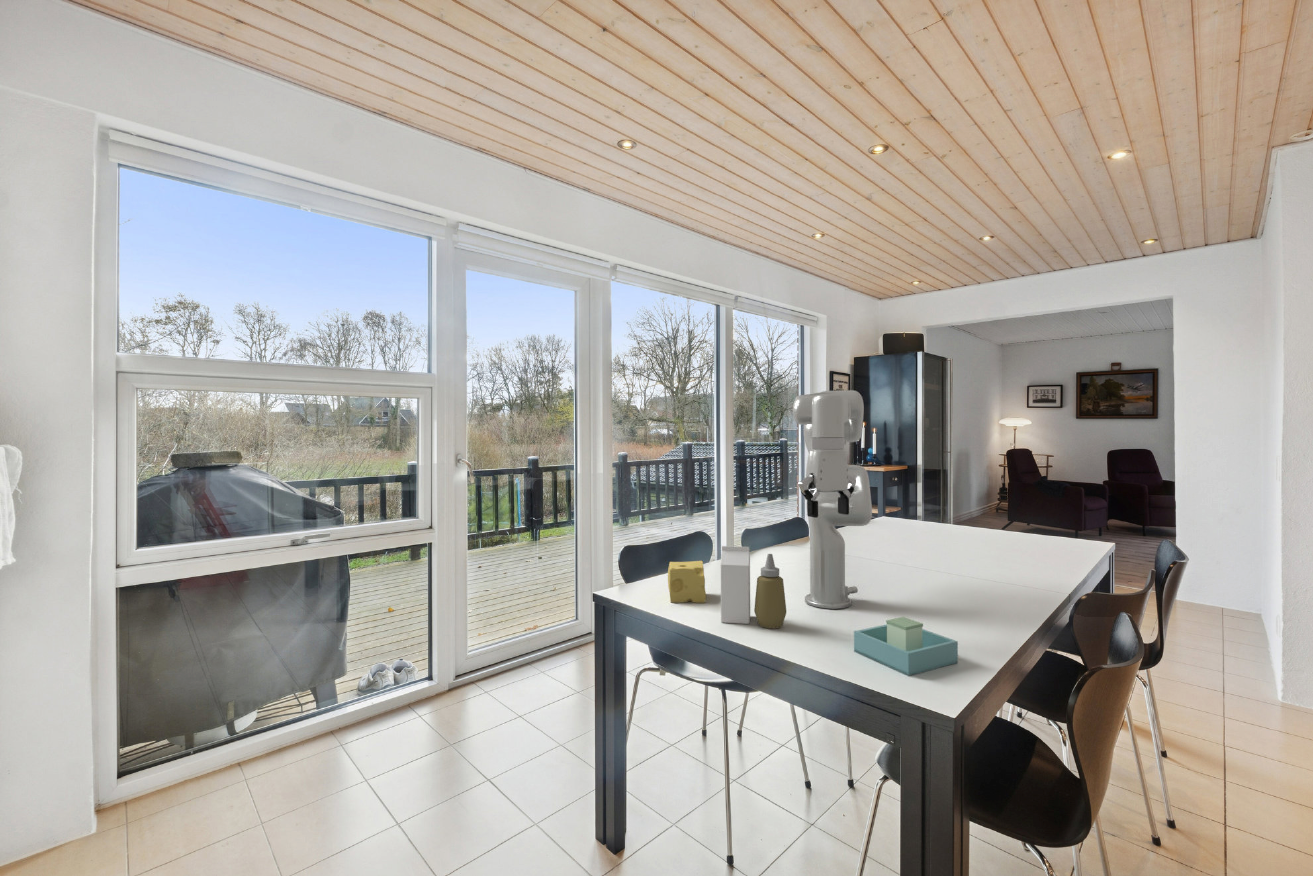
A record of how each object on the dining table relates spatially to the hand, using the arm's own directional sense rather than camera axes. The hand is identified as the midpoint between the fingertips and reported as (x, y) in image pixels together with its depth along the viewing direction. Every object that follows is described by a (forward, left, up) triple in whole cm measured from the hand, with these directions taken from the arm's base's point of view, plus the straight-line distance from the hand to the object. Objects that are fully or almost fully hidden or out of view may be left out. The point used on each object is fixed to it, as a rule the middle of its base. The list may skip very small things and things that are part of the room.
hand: (828, 515), depth 143 cm
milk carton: (+15, -18, -28) cm, 37 cm away
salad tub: (-3, +20, -28) cm, 34 cm away
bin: (-3, +20, -28) cm, 35 cm away
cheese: (+17, -41, -29) cm, 53 cm away
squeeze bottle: (+10, -10, -28) cm, 32 cm away
